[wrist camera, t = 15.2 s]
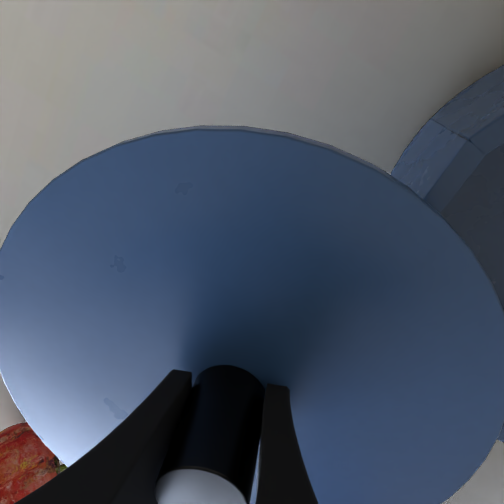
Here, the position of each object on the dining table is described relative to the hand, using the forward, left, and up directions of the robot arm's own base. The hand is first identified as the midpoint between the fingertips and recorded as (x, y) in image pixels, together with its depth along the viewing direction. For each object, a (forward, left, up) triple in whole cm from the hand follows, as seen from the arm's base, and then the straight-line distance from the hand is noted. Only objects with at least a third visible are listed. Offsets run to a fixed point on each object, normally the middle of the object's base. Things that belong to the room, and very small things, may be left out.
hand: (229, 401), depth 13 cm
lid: (0, 0, -1) cm, 1 cm away
